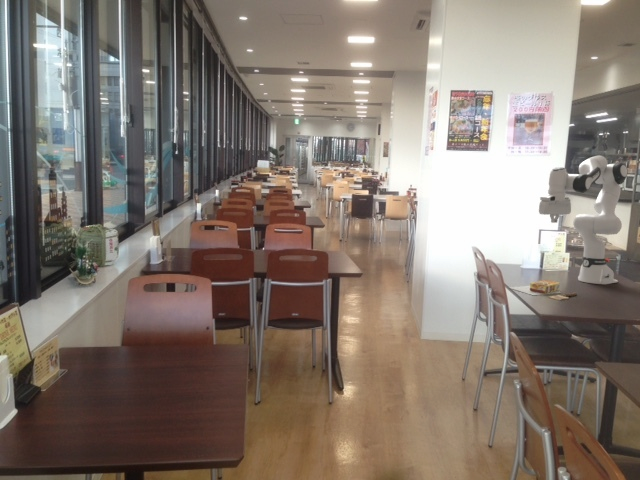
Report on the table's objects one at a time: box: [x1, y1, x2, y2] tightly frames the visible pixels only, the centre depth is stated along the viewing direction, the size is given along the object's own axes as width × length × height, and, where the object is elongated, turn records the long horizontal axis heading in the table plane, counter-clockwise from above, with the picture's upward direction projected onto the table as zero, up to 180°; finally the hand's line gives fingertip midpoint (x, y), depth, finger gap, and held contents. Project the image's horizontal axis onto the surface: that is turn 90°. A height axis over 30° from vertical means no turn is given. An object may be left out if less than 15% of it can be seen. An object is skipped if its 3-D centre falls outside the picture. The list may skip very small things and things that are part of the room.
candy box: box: [529, 279, 561, 295], centre depth 311 cm, size 9×4×15 cm
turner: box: [548, 291, 578, 301], centre depth 299 cm, size 18×6×1 cm, turn 124°
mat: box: [508, 285, 563, 296], centre depth 312 cm, size 20×18×1 cm
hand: (554, 222), depth 322 cm, fingers closed
